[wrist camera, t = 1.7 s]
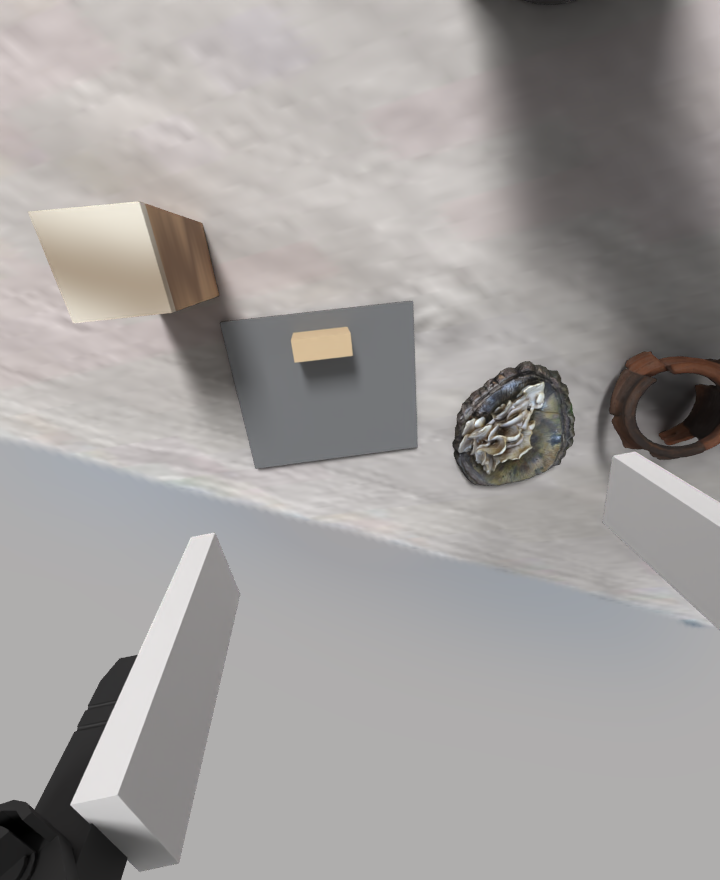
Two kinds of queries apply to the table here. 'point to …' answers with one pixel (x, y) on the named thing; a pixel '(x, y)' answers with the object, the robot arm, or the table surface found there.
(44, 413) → the table surface
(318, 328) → the board
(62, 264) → the teak block
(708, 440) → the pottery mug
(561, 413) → the oyster shell
